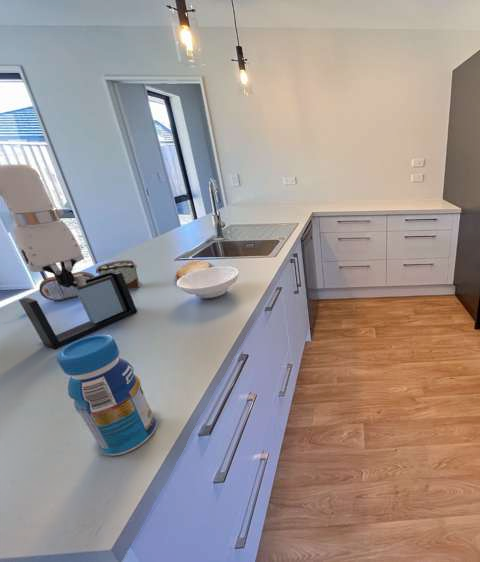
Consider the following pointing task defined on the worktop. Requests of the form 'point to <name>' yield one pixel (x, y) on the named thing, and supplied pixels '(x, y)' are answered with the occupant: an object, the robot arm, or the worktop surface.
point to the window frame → (89, 327)
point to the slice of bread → (191, 268)
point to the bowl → (208, 281)
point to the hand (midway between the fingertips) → (68, 285)
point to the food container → (122, 266)
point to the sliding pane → (100, 297)
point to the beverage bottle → (107, 394)
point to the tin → (59, 288)
